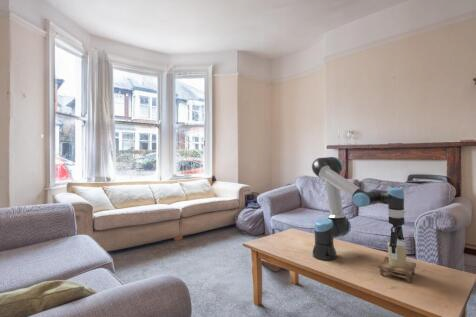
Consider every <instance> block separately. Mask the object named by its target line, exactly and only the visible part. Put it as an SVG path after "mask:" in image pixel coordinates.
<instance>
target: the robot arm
mask: <svg viewBox="0 0 476 317" xmlns="http://www.w3.org/2000/svg"><path fill="white" fill-rule="evenodd" d="M343 168H344V165H343V162H342V160H341V159H339V158H338V157H336V156H329V157H328V156H327V157H318V158H316V159H314V160H313V161H312V164H311V169H312V172H313V174H315V176H317V177H318V178H319V179H320V180H321V179H322V180H323V179H324V180H325V186H326V195H327V201H328V203H327V204H328V210H329V215H327V218H319V219H317V220H315V221H314V225H313V226H314V227H313V229H314V246H313V249H312V257H314V258H315V259H317V260H321V261H333V260H336V259H337V257H338V256H337V255H338V254H337V250H336V248H335V245H334V239H335V238H340V237H344V236H346V235H348V234H349V233H351V228H352V223H351V222H350V221H349V219H348V218H347V215H345V213H344V210H343V203H342V195H341V192H342V193H344V194H345V195H346V196H347V197H349V198H351V199H352V202H353V203H354V205H355V207H356V206H357V207H360V208H363V207H368V206H374V205H377V204H378V205H379V204H382V205H387V214H388V215H387V216H388V223H389V224H391V225H392V227H391V228H390V239H389V240H390V245H389V246H390V247H391V259H396V260H397V247H396V245H397V240H398V241H402V242H404V240H405V237H404V232H403V225H405V214H406V211H405V193H404V192H405V191H404V189H402V188H399V187H389V188H388V189H387V190H381V189H376V188H375V189H371V188H370V189H369V190H368V191H365V190H363V189H362V188H360V187H359V186H357V185H355V184H354V183H353V182H351V181H350V180H348V179H346V178H345V177H343V176H342V175H341V173H342V171H343ZM392 244H394V245H392Z"/></svg>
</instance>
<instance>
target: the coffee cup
mask: <svg viewBox="0 0 476 317" xmlns="http://www.w3.org/2000/svg"><path fill="white" fill-rule="evenodd" d="M386 245H387V252H388V253H387V254H388V256H387V257H389V264H390V265H392V266H395V267H405V265H406V261H407V248H408V244H407V243H406V242H404V241H403V242H402V241H398V240H397V245H396V247H397V260H396V259H391V247H390V246H389V245H390V239H389V240H387V242H386ZM392 245H394V244H392Z"/></svg>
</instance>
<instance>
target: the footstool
mask: <svg viewBox="0 0 476 317" xmlns="http://www.w3.org/2000/svg"><path fill="white" fill-rule="evenodd" d="M416 266H417V262H413V261H408V260H406V265H405V267H395V266H392V265H390V264H389V256H385V257H383V259H382V260H381V261H380V263H379V264H378V269H379V273H380V274H379V275H380V276H381V277H383V276H384V275H385V274H387V275H391V276H395V277H399V278H403V279H406V283H408V284H409V283H411V277H412V275H414V274H415V271H416V268H417V267H416Z"/></svg>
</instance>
